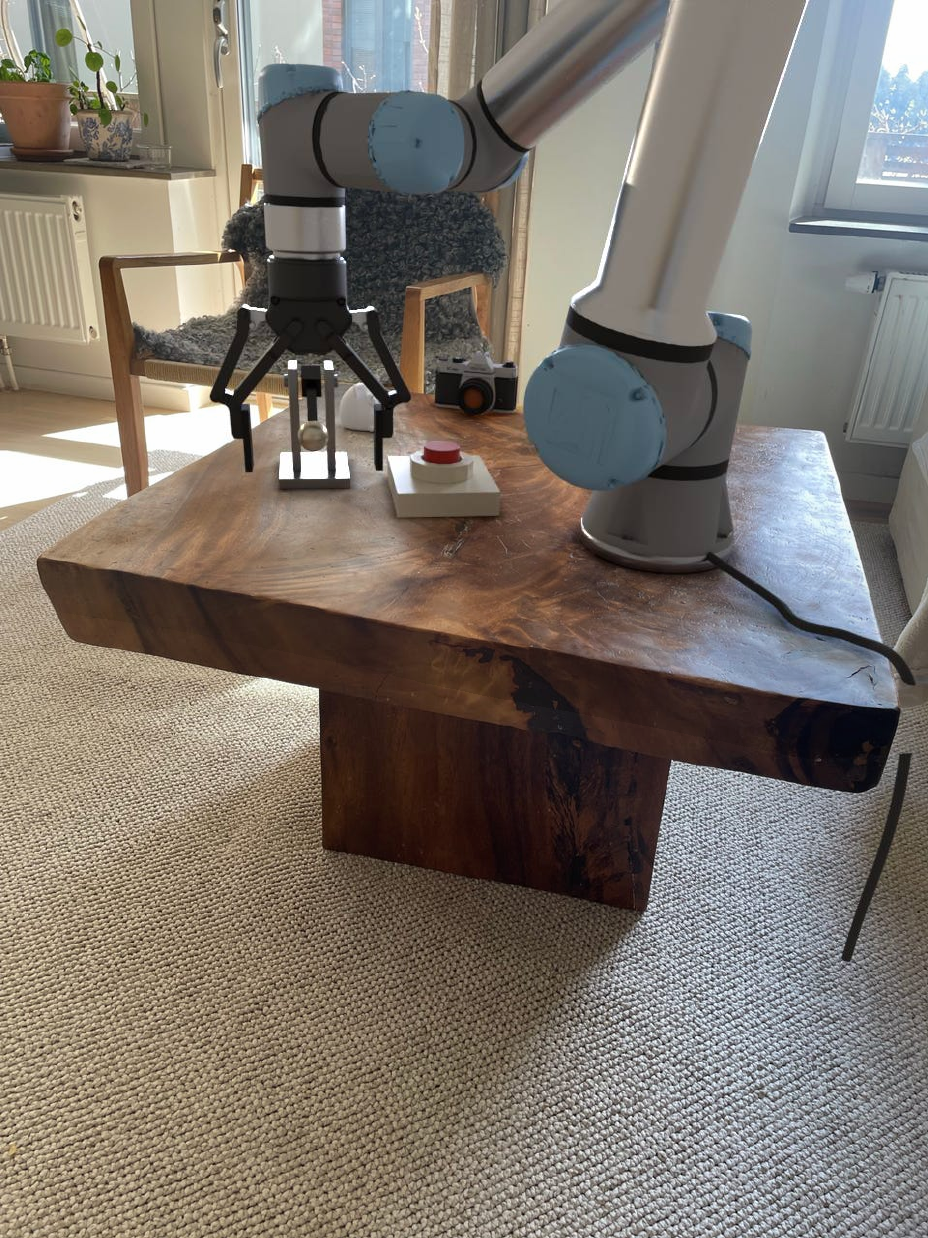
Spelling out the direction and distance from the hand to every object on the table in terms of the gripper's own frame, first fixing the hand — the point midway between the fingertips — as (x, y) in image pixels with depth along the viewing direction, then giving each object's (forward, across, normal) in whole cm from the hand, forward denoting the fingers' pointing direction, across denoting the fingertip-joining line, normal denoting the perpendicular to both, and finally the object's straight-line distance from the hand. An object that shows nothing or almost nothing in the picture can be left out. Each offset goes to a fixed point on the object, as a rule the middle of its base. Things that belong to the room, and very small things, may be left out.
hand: (314, 467), depth 95 cm
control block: (+4, -14, -2) cm, 15 cm away
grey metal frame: (+4, 0, -10) cm, 11 cm away
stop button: (0, -14, -2) cm, 14 cm away
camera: (+4, -24, -39) cm, 46 cm away
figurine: (+4, -7, -31) cm, 32 cm away
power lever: (-4, 0, -6) cm, 7 cm away
